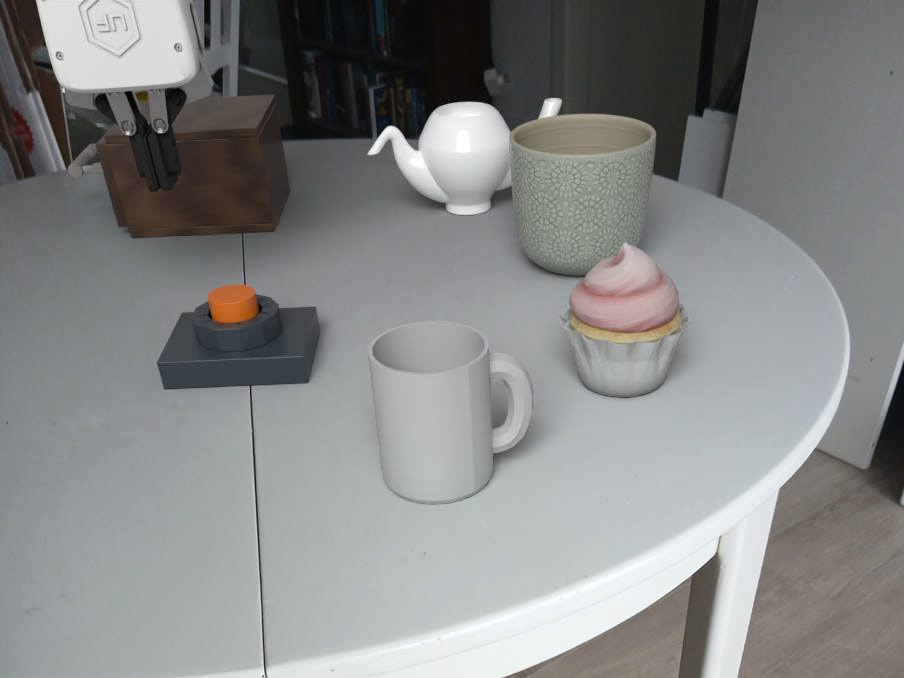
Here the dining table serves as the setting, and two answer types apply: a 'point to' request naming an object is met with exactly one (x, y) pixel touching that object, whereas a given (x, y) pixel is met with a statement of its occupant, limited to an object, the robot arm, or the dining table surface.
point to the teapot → (459, 154)
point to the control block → (240, 348)
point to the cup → (442, 408)
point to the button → (233, 303)
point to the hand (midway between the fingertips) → (164, 185)
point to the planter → (580, 187)
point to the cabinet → (209, 171)
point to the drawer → (85, 166)
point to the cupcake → (624, 324)
